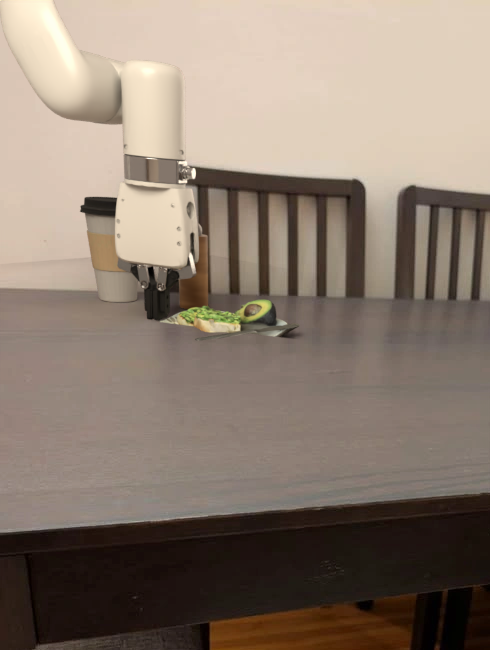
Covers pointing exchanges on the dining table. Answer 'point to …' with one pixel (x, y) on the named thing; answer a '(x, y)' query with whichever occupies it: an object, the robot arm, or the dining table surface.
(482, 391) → the dining table surface
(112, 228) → the coffee cup
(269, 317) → the avocado toast
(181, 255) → the robot arm
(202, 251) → the pepper grinder
